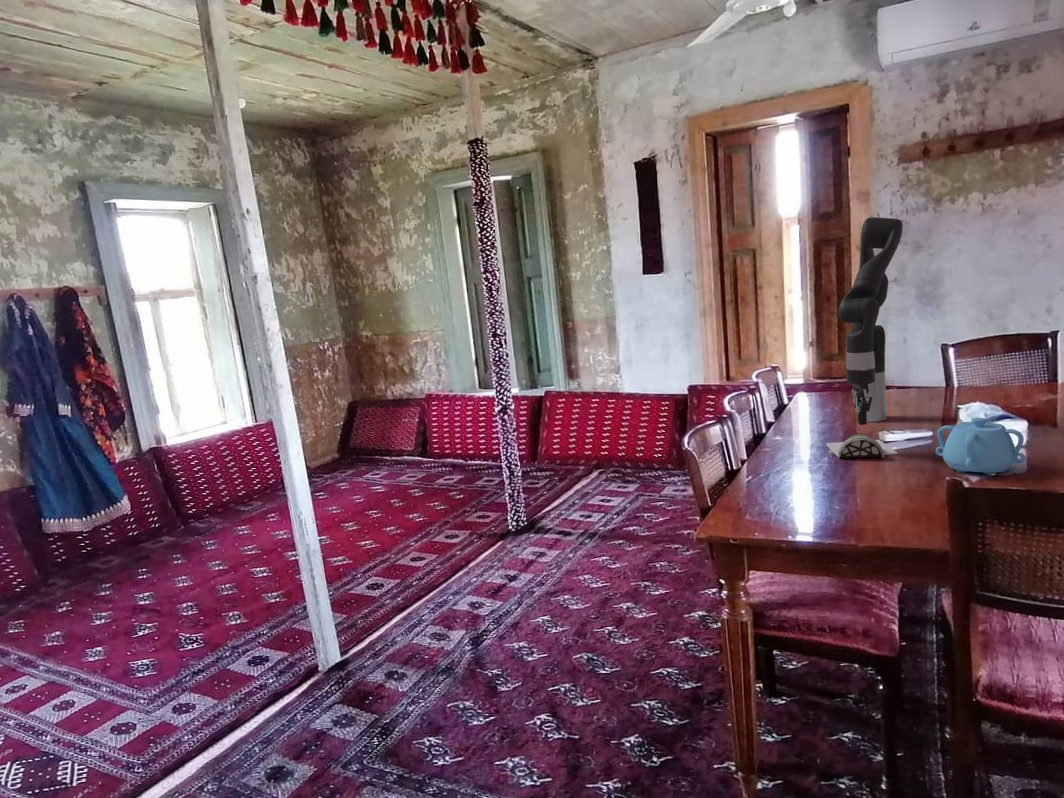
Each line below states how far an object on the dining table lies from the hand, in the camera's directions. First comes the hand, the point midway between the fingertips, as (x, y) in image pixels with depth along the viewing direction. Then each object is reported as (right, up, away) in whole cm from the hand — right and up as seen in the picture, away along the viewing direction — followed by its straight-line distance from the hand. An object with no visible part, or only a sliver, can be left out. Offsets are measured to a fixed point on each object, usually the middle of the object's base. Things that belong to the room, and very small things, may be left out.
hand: (862, 424), depth 201 cm
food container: (+1, -5, +4) cm, 6 cm away
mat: (+2, -8, +5) cm, 10 cm away
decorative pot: (+19, -11, -24) cm, 32 cm away
